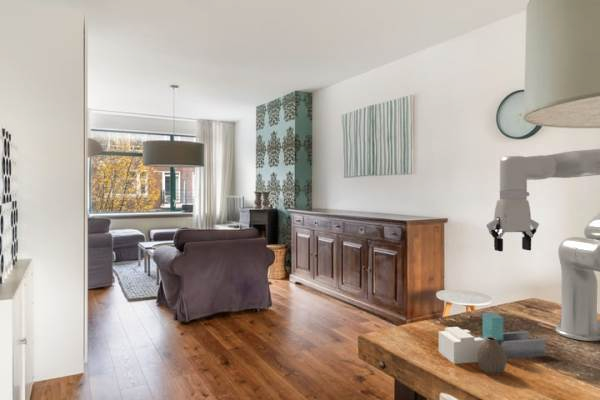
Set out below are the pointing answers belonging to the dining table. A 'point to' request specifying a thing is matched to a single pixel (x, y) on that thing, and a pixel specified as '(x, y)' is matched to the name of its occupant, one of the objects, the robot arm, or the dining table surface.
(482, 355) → the vase
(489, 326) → the teal-tipped grey beam
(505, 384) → the dining table surface
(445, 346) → the socket block
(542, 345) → the guide channel
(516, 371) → the dining table surface
